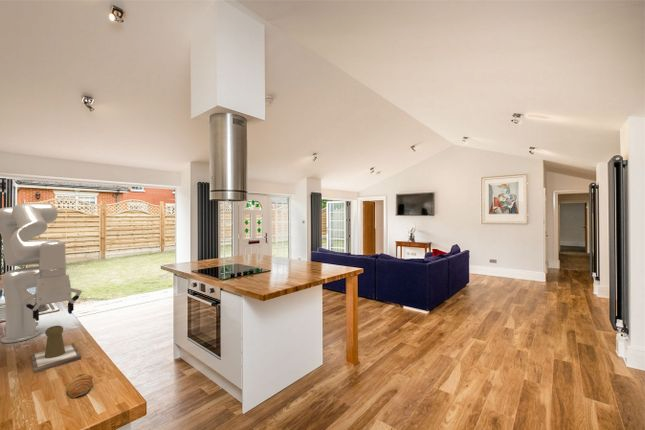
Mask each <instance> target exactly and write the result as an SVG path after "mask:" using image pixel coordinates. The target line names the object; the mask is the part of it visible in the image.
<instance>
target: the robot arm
mask: <svg viewBox="0 0 645 430" xmlns="http://www.w3.org/2000/svg"><path fill="white" fill-rule="evenodd" d="M57 218H58V210H57V208H56V206H55V205H53V204H52V203H45V202H39V203H38V202H25V203H19V204H18V203H17V204H16V205H14V206H11V207H9V206H8V207H7V206H6V207H2V208H0V235H1V239H2V248H3V249H2V251H3V258H4V262H5V265H7V266H8V267H22V266H29V265H31V266H32V265H38V266H33V267H24V268H23V267H22V268H17V269H16V268H15V269H11V270H8V271H6V272H5V273H3V274H2V276H1V278H0V279H1V285H2V289H3V293H4V306H5V307H4V308H5V310H4V311H5V336H4V337H2V338H1V339H0V341H1V343H3V344H13V343H19V342H23V341H27V340H30V339H33V338H36V337H38V336H39V335H40V334H41V330H40V329H37V328H36V327H37V326H38V325H39V322H38V321H39V320H40V312H39V311H40V310H39V307H41V306H43V305H50V304H57V303H61V302H66V301H67V313H68V314H69V315H72V313H73V311H74V310H75V309H74V304H75V302H76V301H77V300H78V299H79V297H80V296H81V294H82V292H83V291H82V290H81V289H78V288H72V287H71V286H72V285H71V279H70V276H69V274H68V273H67V268H66V264H67V263H66V259H67V258H66V243H65V242H64V241H61V240H59V239H53V238H52V239H36V240H31V239H33V238H36V237H39V236H40V235H43V234H44V233H45V232H46V231H47V230H48V224H50V223H53V222H54V221H56V220H57ZM32 288H33V289H34V288H35V293H33V294H32V293H31V292H30V291H28V290H29V289H32ZM72 293H74V294H75V295H74V296H73V297H72Z"/></svg>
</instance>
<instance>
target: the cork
mask: <svg viewBox="0 0 645 430" xmlns="http://www.w3.org/2000/svg"><path fill="white" fill-rule="evenodd" d="M63 332H64V327H63V326H62V325H53V326H49V327H48V328H46V329H45V332H44V333H45V336H46V345H45V350H44V351H45V358H54V357H58V356H60V355H63V354H64V353H65V348H64V344H65V343H64V339H63V335H62V334H63Z"/></svg>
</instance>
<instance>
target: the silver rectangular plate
mask: <svg viewBox="0 0 645 430" xmlns="http://www.w3.org/2000/svg"><path fill="white" fill-rule="evenodd" d="M64 348H65V353H64V354H63V355H60V356H58V357H54V358H45V350H42V351H39V352H34V353H30V359H31V363H32V368H33V369H32V370H33V373H34V374H35V373H39V372H43V371H46V370H48V369H52V368H56V367H58V366H62V365H65V364H69V363H72V362H76V361H79V360H81V359H82V356H81V353H80V352H79V350H78V348H77V347H76V345H75V344H74V343H69V344H65V345H64Z"/></svg>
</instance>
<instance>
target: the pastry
mask: <svg viewBox="0 0 645 430" xmlns="http://www.w3.org/2000/svg"><path fill="white" fill-rule="evenodd" d="M93 384H94V382H93V376H92V375H91V374H88V373H85V372H82V373H79V374H77V375H75V376H73V377H71V378H70V379H69V381H68V383H67V385H66V386H65V391H66V394H68V396H69V398H73V399H74V398H77V397H80V396H83V395H85V394H87V393H88V391H89V390H90V389H91V388H92V387H93Z"/></svg>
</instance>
